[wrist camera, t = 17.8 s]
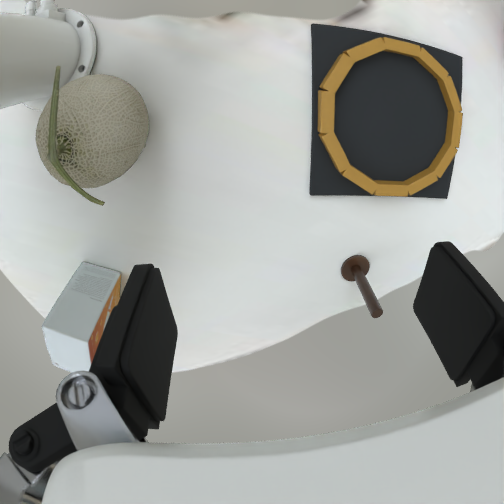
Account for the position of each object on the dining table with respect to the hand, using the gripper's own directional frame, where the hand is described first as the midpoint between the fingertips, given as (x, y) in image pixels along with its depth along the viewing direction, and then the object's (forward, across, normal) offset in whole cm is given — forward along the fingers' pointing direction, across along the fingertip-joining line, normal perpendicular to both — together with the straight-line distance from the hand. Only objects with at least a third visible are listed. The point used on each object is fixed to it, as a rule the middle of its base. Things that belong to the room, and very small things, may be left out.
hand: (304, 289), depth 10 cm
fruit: (+24, +15, -4) cm, 29 cm away
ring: (+23, -15, -3) cm, 28 cm away
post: (+23, -12, +17) cm, 31 cm away
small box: (+24, +23, +18) cm, 38 cm away
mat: (+24, -15, -3) cm, 28 cm away
